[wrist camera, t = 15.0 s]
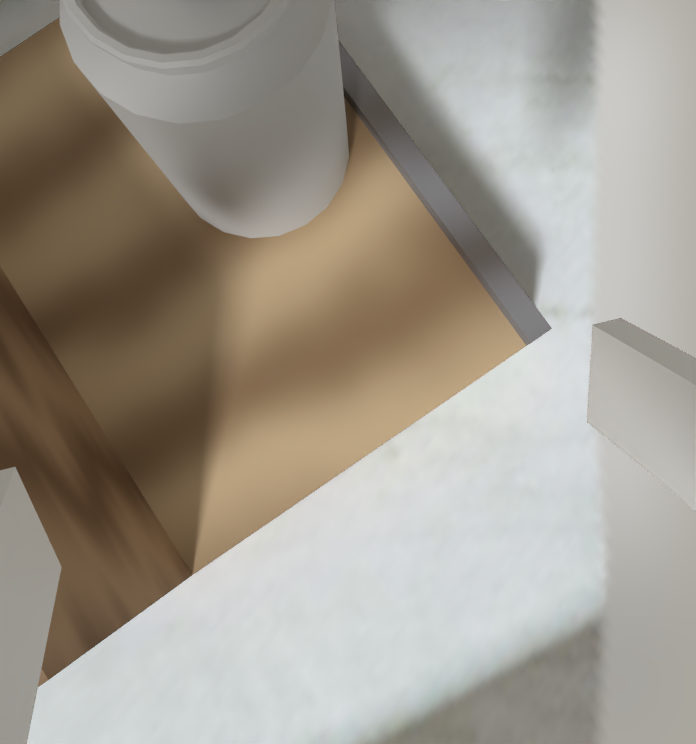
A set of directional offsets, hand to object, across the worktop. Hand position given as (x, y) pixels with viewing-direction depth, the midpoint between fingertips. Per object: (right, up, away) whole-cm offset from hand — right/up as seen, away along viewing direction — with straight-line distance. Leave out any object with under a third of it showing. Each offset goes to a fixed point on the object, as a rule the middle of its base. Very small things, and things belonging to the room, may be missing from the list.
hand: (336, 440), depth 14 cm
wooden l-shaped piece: (-6, +7, +16) cm, 18 cm away
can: (-3, +11, +13) cm, 17 cm away
